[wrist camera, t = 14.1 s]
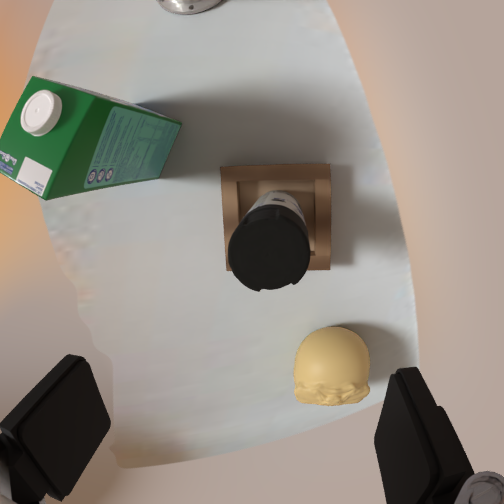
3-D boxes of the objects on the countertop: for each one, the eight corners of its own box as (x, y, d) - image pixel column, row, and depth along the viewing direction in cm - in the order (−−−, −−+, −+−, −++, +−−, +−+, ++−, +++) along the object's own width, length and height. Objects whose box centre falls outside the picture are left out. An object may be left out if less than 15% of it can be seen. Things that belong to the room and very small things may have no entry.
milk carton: (182, 122, 43) (80, 91, 19) (158, 179, 45) (44, 201, 21) (132, 103, 43) (15, 72, 19) (111, 157, 45) (-13, 166, 21)
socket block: (225, 166, 44) (220, 167, 41) (326, 163, 42) (330, 163, 39) (230, 263, 48) (226, 271, 44) (327, 262, 46) (330, 270, 43)
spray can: (306, 232, 44) (320, 286, 25) (258, 242, 45) (237, 301, 26) (296, 185, 43) (304, 202, 23) (247, 195, 44) (216, 222, 25)
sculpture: (291, 377, 52) (290, 421, 42) (297, 316, 49) (298, 354, 39) (356, 378, 51) (367, 420, 41) (368, 318, 48) (385, 355, 37)
